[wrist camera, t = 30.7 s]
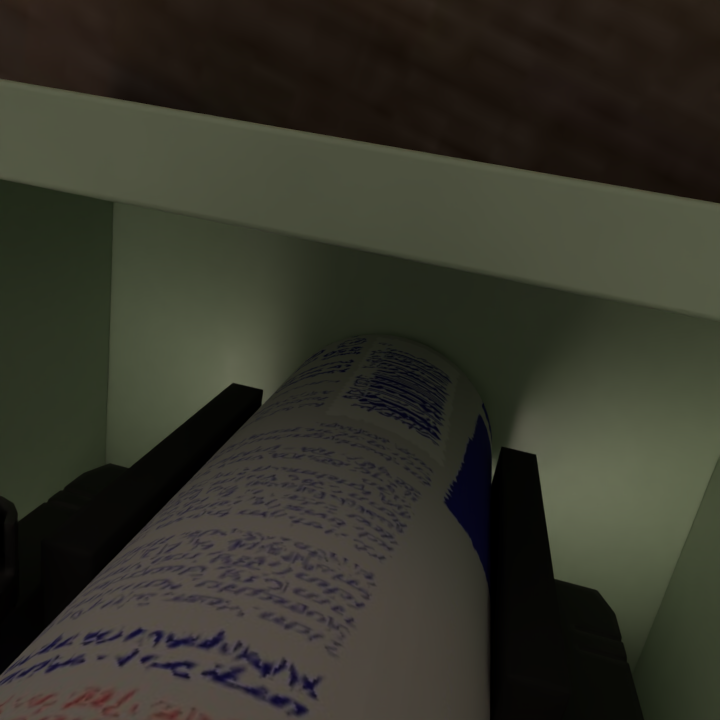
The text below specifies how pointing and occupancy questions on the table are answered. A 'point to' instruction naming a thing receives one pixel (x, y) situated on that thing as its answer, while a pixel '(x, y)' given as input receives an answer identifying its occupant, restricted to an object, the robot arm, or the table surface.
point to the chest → (376, 326)
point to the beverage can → (299, 565)
